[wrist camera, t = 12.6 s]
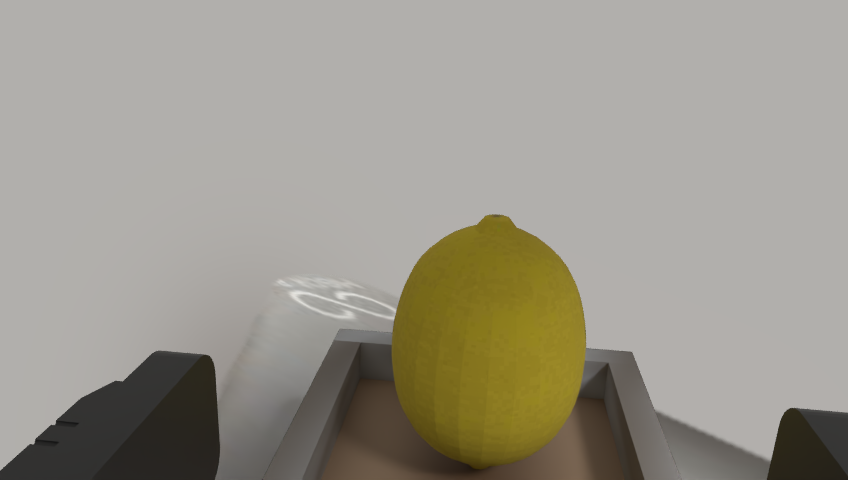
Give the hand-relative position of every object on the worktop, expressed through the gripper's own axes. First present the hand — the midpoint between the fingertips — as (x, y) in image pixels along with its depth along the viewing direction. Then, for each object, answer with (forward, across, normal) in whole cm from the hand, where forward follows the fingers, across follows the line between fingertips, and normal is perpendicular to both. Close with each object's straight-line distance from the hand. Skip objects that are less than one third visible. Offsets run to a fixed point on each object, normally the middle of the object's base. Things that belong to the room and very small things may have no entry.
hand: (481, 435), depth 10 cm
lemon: (+10, 0, +8) cm, 12 cm away
